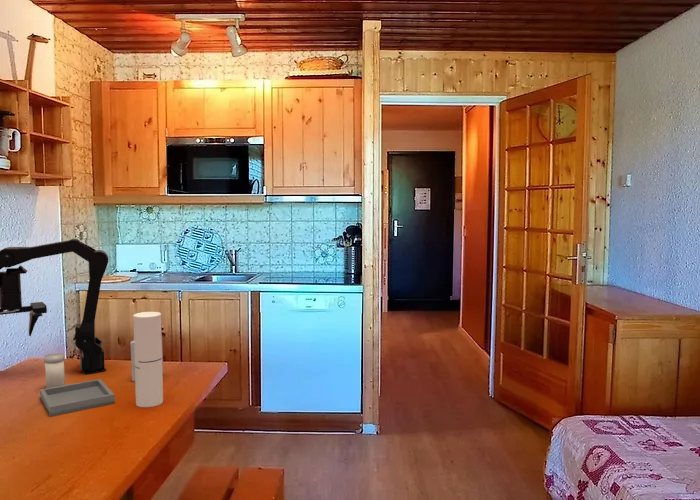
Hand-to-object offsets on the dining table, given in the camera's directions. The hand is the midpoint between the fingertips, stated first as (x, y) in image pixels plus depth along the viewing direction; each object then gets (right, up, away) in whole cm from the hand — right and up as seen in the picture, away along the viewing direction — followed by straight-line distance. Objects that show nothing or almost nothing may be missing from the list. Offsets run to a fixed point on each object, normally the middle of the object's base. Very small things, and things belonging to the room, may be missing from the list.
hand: (12, 337), depth 173 cm
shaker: (+17, -14, -7) cm, 23 cm away
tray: (+28, -15, -17) cm, 36 cm away
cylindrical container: (+49, -16, -17) cm, 54 cm away
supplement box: (+41, -13, +3) cm, 43 cm away
